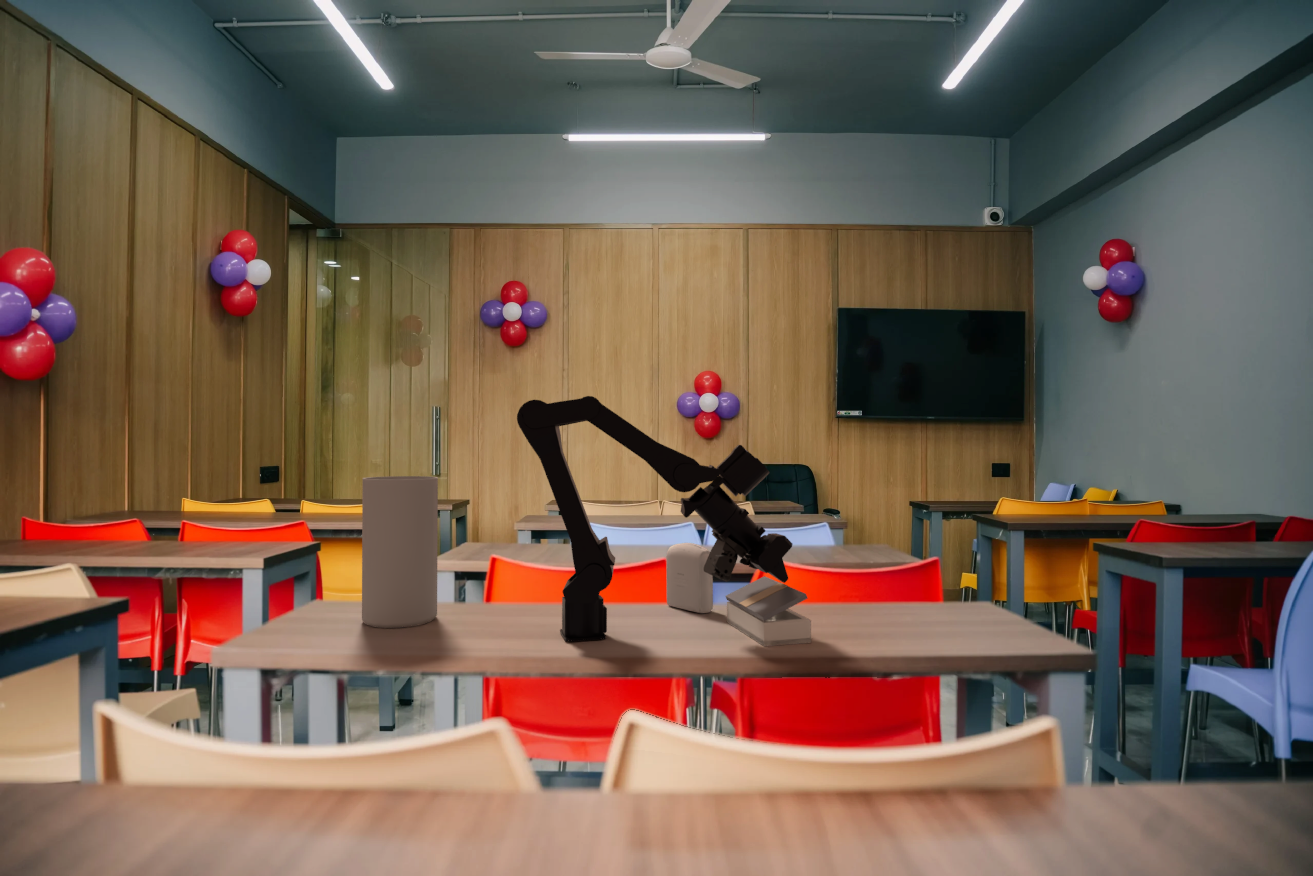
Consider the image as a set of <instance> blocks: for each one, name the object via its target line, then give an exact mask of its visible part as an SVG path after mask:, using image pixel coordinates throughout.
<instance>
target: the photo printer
mask: <svg viewBox="0 0 1313 876" xmlns="http://www.w3.org/2000/svg"><path fill="white" fill-rule="evenodd" d="M710 551H711V550H708V549H707V548H706V547H704V546H702V545H699V544H697V543H693V542H682V543H675V544H673V545H671V546H669V548H668V550H667V552H666V557H665V558H666V566H665V567H666V605H667V606H669V607H674V608H677V609H682V610H685V611H690V612H694V613H697V614H708V613H711V612H712V611H713V608H714V590H713V589H714V580H713V579H714V576H712V575H710V574H708V573H706V572H704V565H705V563H706V561H707V558H708V556H709V554H710Z"/></svg>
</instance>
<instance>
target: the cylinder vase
mask: <svg viewBox="0 0 1313 876" xmlns="http://www.w3.org/2000/svg"><path fill="white" fill-rule="evenodd" d="M438 486H439V477H437V476H428V475H427V476H425V475H424V476H423V475H422V476H420V475H398V476H397V475H396V476H395V475H393V476H388V475H387V476H371V477H362V506H361V508H362V510H361V511H362V514H361V515H362V517H361V519H362V521H361V522H362V524H361V526H362V527H361V528H362V530H361V531H362V533H361V534H362V535H361V536H362V537H361V539H362V540H361V541H362V542H361V545H362V546H361V547H362V548H361V551H362V552H361V555H362V556H361V571H362V573H361V620H362V622H363V623H364V624H365V625H367V626H369V627H373V628H381V629H382V628H383V629H396V628H397V629H399V628H409V627H410V628H411V627H416V626H420V625H424V624H427V623H430V622H431V621H433V620H435V619H436V617H437V615H438V544H439V543H438V541H439V540H438V538H439V537H438V535H439V533H438V529H439V528H438V527H439V526H438V519H439V517H438V513H439V511H438V507H439V506H438V505H439V503H438V502H439V501H438V500H439V497H438V495H439V492H438V489H439V487H438Z"/></svg>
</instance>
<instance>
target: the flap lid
mask: <svg viewBox="0 0 1313 876" xmlns="http://www.w3.org/2000/svg"><path fill="white" fill-rule="evenodd" d="M807 599H808V596H807V593H806V592H802V591H801V590H798V589H796V588H793V587H791V586H788V585H787V584H785V583H783V582H779V581H776V580H774V579H772V578H769V577H768V576H765V575H764V576H762V577H760V578H758V579H756V580H753V581H752V582H750V583H748V584H746V585H744V586H742V587H741V588H738V589H736V590H733V591H732V592H730V593H728V594H727V595H725V600H726V601H727V602H731V603H733V604H735V605H737V606H738V607H740V608H742V609H744V610H746V611H747V612H749V613H751V614H753V615H754V616H756V617H758V618H760V619H761V620H763V621H765V620H767V619H769V618H771V617H773V616H775V615H777V614H779V613H781V612H782V611H784V610H786V609H790V608H792V607H794V606H796V605H798V604H800V603H802V602H803V601H804V602H805V600H807Z"/></svg>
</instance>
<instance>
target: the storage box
mask: <svg viewBox="0 0 1313 876" xmlns="http://www.w3.org/2000/svg"><path fill="white" fill-rule="evenodd" d="M726 623H727V624H729V625H730V626H732V627H734V628H735V629H736V630H738V631H740V632H741V633H743V634H744V635H746V636H747V637H749V638H750V639H752V640H753V641H755V642H756V643H758V644H760V645H762V646H763V647H773V646H786V645H796V644H797V645H798V644H799V645H800V644H811V643H812V619H810V618H809V617H806V616H804V615H802V614H800V613H798V612H797V611H794V610H792V609H790V608H788V609H786V610H784V611H782V612H781V613H779V614H777V615H775V616H773V617H771V618H769V619H767V620H765V621H763V620H761V619H760V618H758V617H756V616H754V615H753V614H751V613H749V612H747V611H746V610H744V609H742V608H740V607H738V606H737V605H735V604H733V603H731V602H730V601H726Z"/></svg>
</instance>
